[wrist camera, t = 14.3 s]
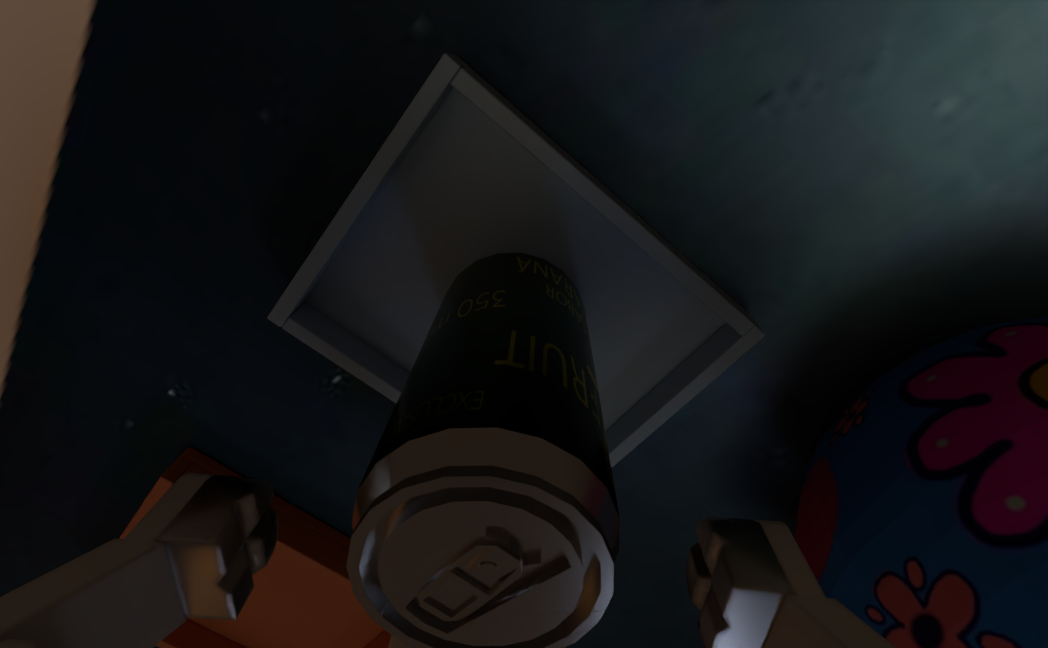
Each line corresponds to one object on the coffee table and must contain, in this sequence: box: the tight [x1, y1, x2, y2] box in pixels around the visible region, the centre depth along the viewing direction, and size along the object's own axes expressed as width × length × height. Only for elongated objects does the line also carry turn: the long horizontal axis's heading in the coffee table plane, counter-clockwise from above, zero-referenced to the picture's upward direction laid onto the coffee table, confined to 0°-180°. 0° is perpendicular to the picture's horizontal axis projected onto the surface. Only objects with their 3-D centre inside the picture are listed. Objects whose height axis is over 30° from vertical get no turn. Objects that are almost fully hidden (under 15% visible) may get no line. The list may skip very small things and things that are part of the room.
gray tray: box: [267, 53, 766, 468], centre depth 20 cm, size 14×11×2 cm
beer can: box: [346, 252, 620, 648], centre depth 15 cm, size 5×5×12 cm
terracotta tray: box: [119, 447, 391, 648], centre depth 28 cm, size 14×11×2 cm
